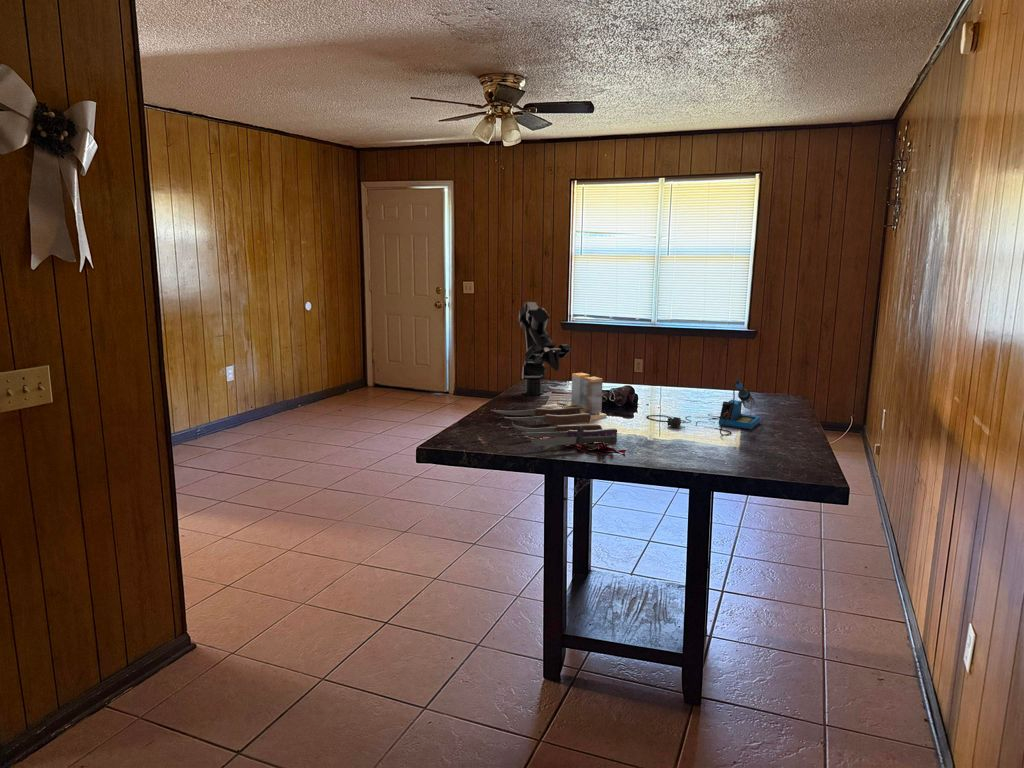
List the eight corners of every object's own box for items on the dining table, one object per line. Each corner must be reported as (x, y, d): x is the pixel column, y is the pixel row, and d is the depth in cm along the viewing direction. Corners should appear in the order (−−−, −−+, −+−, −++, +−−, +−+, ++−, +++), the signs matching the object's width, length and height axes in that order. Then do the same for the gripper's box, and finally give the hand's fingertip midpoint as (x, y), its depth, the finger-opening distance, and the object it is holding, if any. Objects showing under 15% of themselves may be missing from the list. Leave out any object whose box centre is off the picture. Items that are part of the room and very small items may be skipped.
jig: (541, 408, 257) (542, 371, 254) (564, 405, 263) (565, 369, 260) (582, 421, 238) (583, 381, 236) (606, 417, 244) (607, 378, 242)
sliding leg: (559, 409, 248) (560, 375, 245) (580, 406, 253) (581, 372, 251) (567, 412, 244) (568, 377, 242) (588, 408, 250) (589, 374, 247)
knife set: (488, 423, 230) (489, 400, 229) (579, 421, 241) (581, 399, 240) (524, 455, 198) (526, 429, 196) (627, 451, 209) (630, 426, 207)
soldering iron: (634, 423, 237) (637, 370, 234) (668, 406, 263) (671, 358, 259) (739, 440, 219) (744, 383, 215) (763, 421, 244) (768, 369, 241)
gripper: (548, 348, 276) (564, 381, 270) (510, 350, 265) (527, 384, 258) (563, 331, 269) (580, 364, 262) (525, 332, 257) (542, 366, 251)
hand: (557, 370), depth 258 cm, fingers closed
